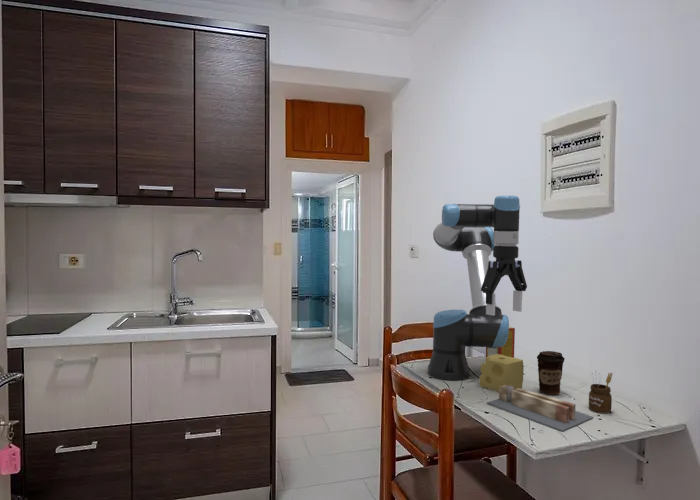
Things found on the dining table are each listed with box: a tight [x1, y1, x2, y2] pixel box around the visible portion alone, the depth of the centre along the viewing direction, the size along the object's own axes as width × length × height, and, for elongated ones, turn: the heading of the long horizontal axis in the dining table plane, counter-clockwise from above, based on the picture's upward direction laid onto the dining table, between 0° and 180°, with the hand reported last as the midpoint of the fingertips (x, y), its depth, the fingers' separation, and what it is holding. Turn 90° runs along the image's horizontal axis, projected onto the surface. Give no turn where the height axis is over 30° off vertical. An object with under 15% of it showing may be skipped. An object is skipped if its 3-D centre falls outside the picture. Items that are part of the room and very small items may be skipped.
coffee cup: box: [536, 350, 566, 396], centre depth 150 cm, size 9×8×13 cm
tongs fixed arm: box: [498, 385, 570, 423], centre depth 133 cm, size 22×3×4 cm, turn 36°
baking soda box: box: [485, 325, 516, 358], centre depth 181 cm, size 10×6×16 cm
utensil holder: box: [588, 370, 614, 414], centre depth 135 cm, size 6×6×12 cm
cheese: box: [478, 354, 524, 393], centre depth 154 cm, size 10×11×10 cm
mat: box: [486, 398, 594, 433], centre depth 134 cm, size 24×16×1 cm, turn 36°
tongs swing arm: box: [516, 388, 576, 420], centre depth 133 cm, size 17×2×4 cm, turn 40°
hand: (504, 313), depth 144 cm, fingers open, 13 cm apart
